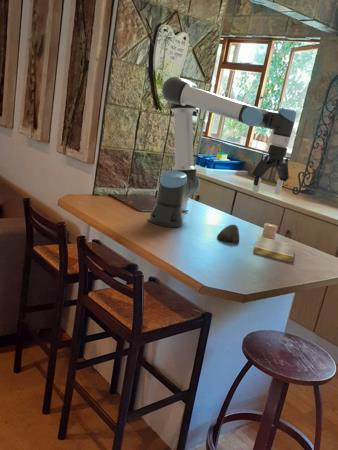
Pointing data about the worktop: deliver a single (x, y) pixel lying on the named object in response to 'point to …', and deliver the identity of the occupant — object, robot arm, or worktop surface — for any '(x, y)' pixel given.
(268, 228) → the peach rounded capsule
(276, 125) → the robot arm
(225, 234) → the stone
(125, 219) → the worktop surface
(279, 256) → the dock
